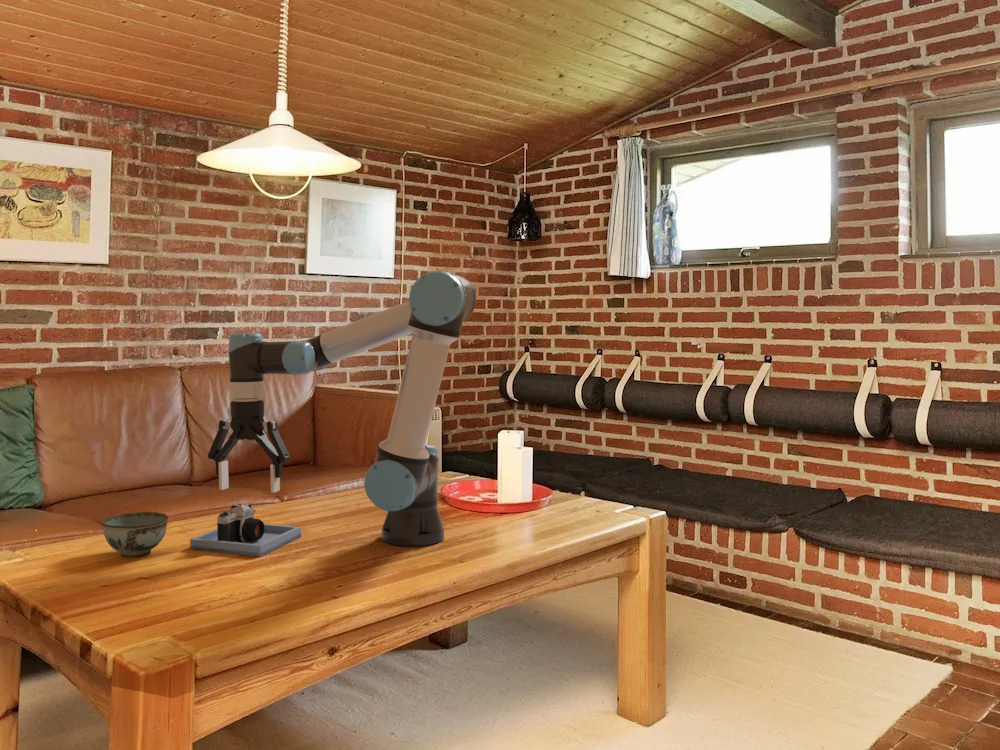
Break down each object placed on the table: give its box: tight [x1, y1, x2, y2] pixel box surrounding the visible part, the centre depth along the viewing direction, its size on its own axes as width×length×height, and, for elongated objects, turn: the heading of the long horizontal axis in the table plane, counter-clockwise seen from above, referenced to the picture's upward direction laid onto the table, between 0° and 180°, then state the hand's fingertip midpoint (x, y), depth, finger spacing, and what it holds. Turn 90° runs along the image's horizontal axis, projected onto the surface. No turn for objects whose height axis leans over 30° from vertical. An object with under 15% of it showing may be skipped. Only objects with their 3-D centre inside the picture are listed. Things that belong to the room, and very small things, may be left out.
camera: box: [216, 502, 265, 542], centre depth 193 cm, size 13×8×9 cm, turn 167°
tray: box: [189, 523, 302, 558], centre depth 194 cm, size 18×18×2 cm
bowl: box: [100, 511, 169, 559], centre depth 183 cm, size 14×13×8 cm
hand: (249, 490), depth 193 cm, fingers open, 13 cm apart
